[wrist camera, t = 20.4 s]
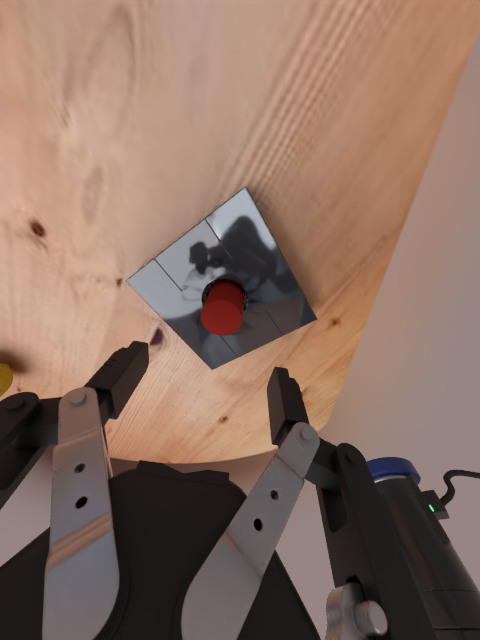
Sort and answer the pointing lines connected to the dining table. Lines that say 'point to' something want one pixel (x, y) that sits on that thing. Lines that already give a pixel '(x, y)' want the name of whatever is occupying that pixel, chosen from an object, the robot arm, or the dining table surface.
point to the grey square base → (230, 263)
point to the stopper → (223, 308)
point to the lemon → (5, 378)
